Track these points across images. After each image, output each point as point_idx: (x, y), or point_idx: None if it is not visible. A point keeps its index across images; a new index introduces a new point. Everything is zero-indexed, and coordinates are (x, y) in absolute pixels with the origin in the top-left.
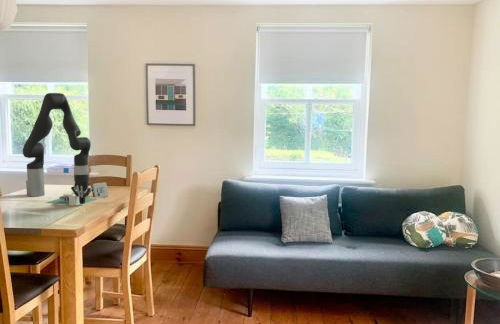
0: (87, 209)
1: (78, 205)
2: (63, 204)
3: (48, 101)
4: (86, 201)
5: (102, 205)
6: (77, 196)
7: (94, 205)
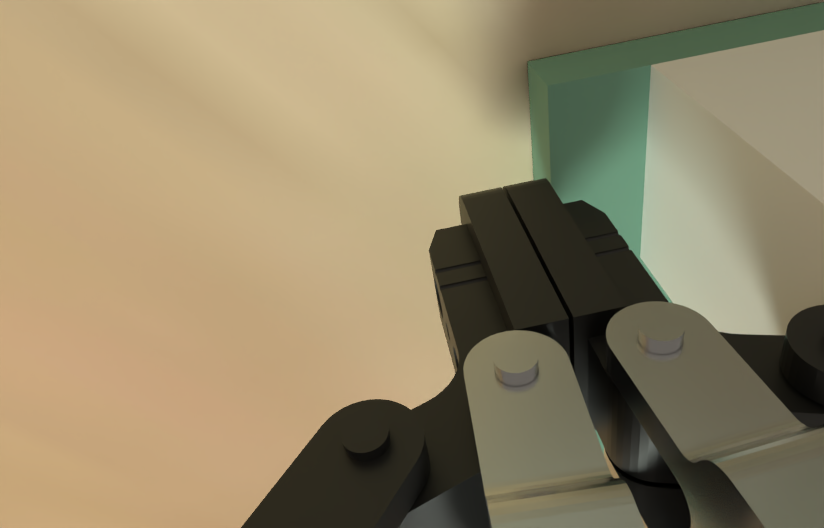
0: (98, 53)
1: (552, 108)
2: None
3: None
4: None
5: (198, 480)
6: None
7: None
